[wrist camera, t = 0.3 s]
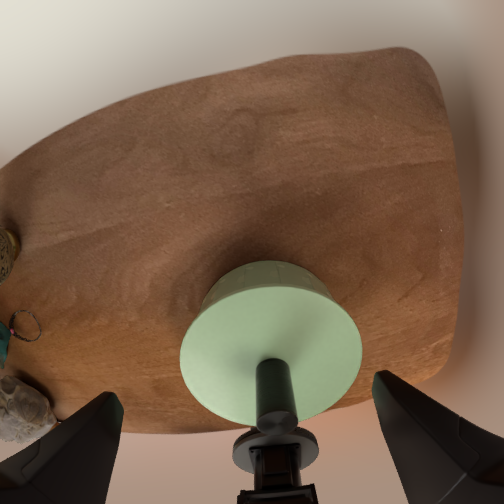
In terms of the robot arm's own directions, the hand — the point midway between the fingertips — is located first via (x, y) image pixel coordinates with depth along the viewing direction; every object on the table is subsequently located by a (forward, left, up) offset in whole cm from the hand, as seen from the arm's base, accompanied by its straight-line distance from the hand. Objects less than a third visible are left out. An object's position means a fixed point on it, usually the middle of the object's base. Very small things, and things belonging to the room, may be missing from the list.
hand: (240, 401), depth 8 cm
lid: (-6, -1, -10) cm, 12 cm away
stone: (-15, +37, -15) cm, 43 cm away
